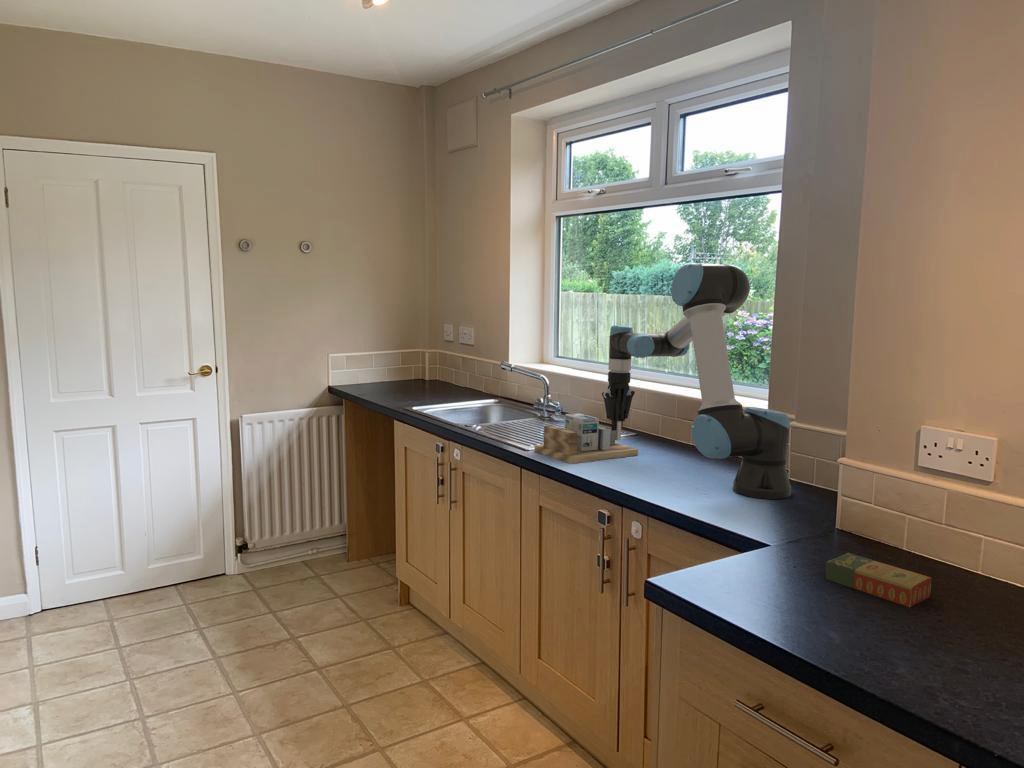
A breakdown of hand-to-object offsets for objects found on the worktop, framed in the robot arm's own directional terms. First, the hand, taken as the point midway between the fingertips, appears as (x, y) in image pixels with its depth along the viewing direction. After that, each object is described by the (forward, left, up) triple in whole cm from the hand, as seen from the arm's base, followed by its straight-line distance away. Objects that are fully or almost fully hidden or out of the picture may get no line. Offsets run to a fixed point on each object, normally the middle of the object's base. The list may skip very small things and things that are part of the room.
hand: (616, 439), depth 255 cm
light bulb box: (0, +15, -2) cm, 15 cm away
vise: (0, +13, -3) cm, 13 cm away
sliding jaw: (0, +7, -1) cm, 7 cm away
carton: (-115, +35, -4) cm, 120 cm away
